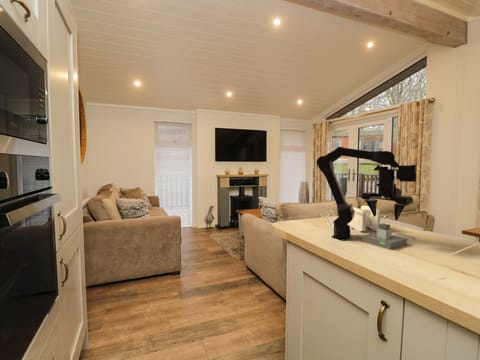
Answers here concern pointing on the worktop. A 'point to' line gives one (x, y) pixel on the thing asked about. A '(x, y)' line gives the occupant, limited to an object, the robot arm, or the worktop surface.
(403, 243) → the socket plate
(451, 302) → the worktop surface
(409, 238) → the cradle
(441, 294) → the worktop surface
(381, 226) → the plug
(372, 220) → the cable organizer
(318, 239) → the worktop surface
